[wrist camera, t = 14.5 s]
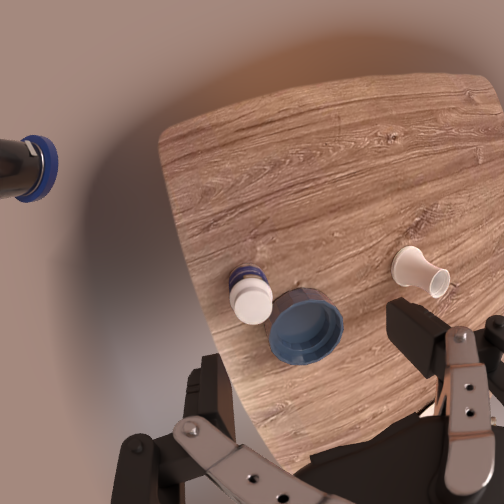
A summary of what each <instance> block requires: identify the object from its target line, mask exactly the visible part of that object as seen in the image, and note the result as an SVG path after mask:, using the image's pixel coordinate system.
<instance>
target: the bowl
mask: <svg viewBox="0 0 504 504" xmlns="http://www.w3.org/2000/svg"><path fill="white" fill-rule="evenodd" d="M264 326H265V330H266V333H267V337H268V341H269V344H270V348H271V351H272V352H273V353H274V355H275V356H276V357H277V358H278V359H279V360H280V361H283V362H285V363H288V364H290V365H308V364H311V363H314V362H318V361H320V360H321V359H323V358H324V357H326V356H327V355H329V354H330V353H331V352H332V351H333V350H334V348H335V347H336V346H337V345H338V343H339V342H340V339H341V336H342V333H343V330H344V327H343V317H342V315H341V314H340V312H339V311H338V309H337V308H336V306H335V305H334V304H333V303H332V302H331V300H330V299H329V298H328V297H327V296H326V295H324V294H323V293H321V292H319V291H317V290H315V289H306V288H300V289H297V290H293V291H289V292H287V293H285V294H284V295H283V296H281V297H280V298H278V299H277V300H276V301H275V302H274V303H273V305H272V312H271V314H270V316H269V317H268V318H267V319H266V320H265V325H264Z"/></svg>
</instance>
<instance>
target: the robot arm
mask: <svg viewBox="0 0 504 504" xmlns="http://www.w3.org/2000/svg"><path fill="white" fill-rule="evenodd" d="M44 172H45V156H44V152H43V150H42V148H41V147H40V146H39V145H38V144H37V143H34V142H30V141H26V140H25V142H23V141H15V140H5V139H0V199H3V198H9V197H16V196H26V195H30V194H32V193H34V192H35V191H36V190H37V189H38V187H39V186H40V184H41V182H42V179H43V176H44ZM386 331H387V335H388V338H389V339H390V341H391V342H392V343H393V344H394V345H395V346H396V347H397V348H398V349H399V350H400V351H401V352H402V353H403V354H404V356H405V357H406V358H407V359H408V360H409V361H410V362H411V363H412V364H413V365H414V366H415V367H416V368H417V369H418V370H419V371H420V372H421V374H422V375H423V376H424V377H425V378H426V379H428V378H430V377H432V376H433V375H436V376H437V380H436V393H435V406H434V414H433V415H432V416H425V417H421V418H420V417H419V416H418V415H417V413H416V412H414V413H412V414H411V415H409V416H407V417H405V418H403V419H401V420H399V421H397V422H395V423H393V424H391V425H390V426H389V427H388V428H386V429H385V430H384V431H382V432H381V433H380V434H378V435H377V436H375V437H374V438H373V439H371V440H369V441H366V442H361V443H356V444H350V445H344V446H338V447H335V448H332V449H329V450H326V451H323V452H320V453H317V454H313V455H310V460H311V463H309V464H308V465H306V466H304V467H303V468H301V469H300V470H298V471H297V472H296V473H295V474H293V475H291V474H290V473H288V472H286V471H285V470H283V469H281V468H280V467H278V466H277V465H275V464H273V463H272V462H270V461H269V460H267V459H266V458H264V457H263V456H261V455H260V454H258V453H257V452H255V451H254V450H252V449H251V448H249V447H247V446H246V445H244V444H241V445H238V444H236V438H235V425H234V412H233V397H232V387H231V383H230V379H229V377H228V374H227V372H226V369H225V367H224V364H223V362H222V359H221V357H220V354H219V353H216V354H212V355H207V356H203V357H202V363H201V368H198V369H194V370H193V371H192V372H191V374H190V375H189V377H188V382H187V390H186V397H185V405H184V406H185V407H184V414H183V419H182V420H180V421H179V422H178V423H177V424H176V425H175V427H174V429H173V432H172V433H170V434H168V435H165V436H162V437H159V438H156V439H154V440H152V438H151V437H150V436H148V435H146V434H141V433H140V434H134V435H132V436H130V437H128V438H127V439H126V440H125V441H124V442H123V443H122V445H121V449H120V454H119V459H118V464H117V469H116V475H115V480H114V486H113V492H112V498H111V504H185V482H186V481H188V480H191V479H194V478H197V477H200V476H203V475H205V476H206V477H208V478H209V479H210V480H211V481H212V482H213V483H214V484H215V485H216V486H217V487H218V488H219V489H221V490H222V491H223V492H224V493H225V494H226V495H228V496H229V497H230V498H231V499H232V500H233V501H234V502H236V503H237V504H504V427H502V426H495V425H491V412H490V398H489V390H490V391H491V392H492V394H493V395H494V396H495V397H496V398H497V399H498V400H499V401H500V402H501V403H502V405H503V406H504V363H503V362H502V361H501V358H502V355H503V353H504V316H501V315H494V316H491V317H489V318H488V319H487V320H486V324H485V328H483V329H480V330H477V331H472V330H471V329H469V328H467V327H464V326H456V327H450V326H449V325H448V324H446V323H445V322H444V321H442V320H441V319H440V318H438V317H437V316H434V314H433V313H431V312H429V311H428V310H427V309H426V308H424V307H423V306H421V305H418V304H415V303H410V302H408V301H407V300H405V299H404V298H402V297H400V298H398V299H395V300H393V301H390V302H388V303H387V305H386Z"/></svg>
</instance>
